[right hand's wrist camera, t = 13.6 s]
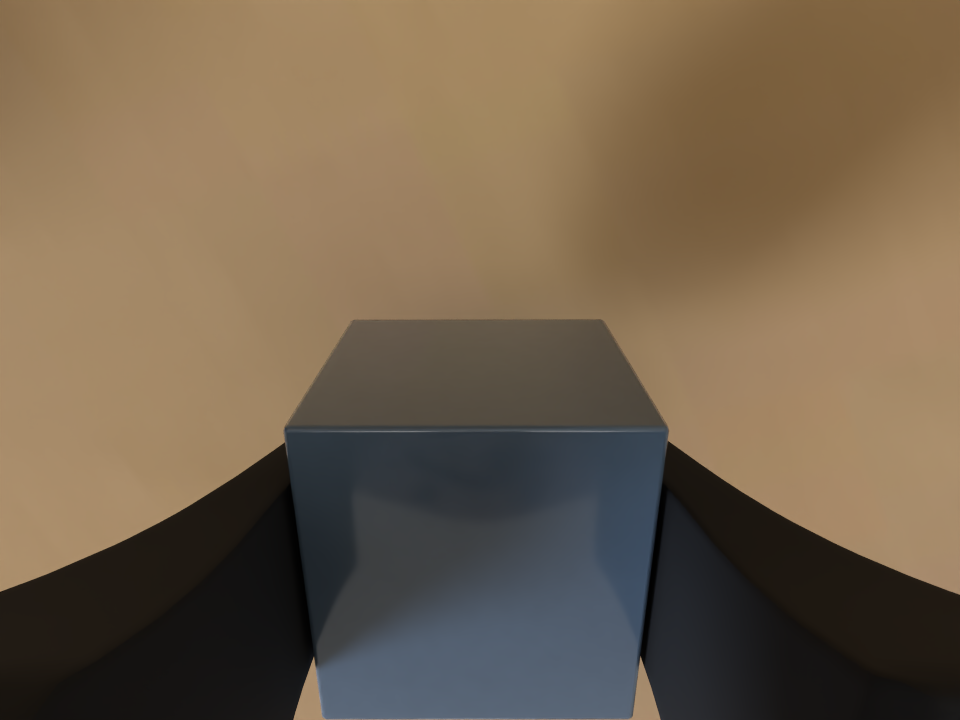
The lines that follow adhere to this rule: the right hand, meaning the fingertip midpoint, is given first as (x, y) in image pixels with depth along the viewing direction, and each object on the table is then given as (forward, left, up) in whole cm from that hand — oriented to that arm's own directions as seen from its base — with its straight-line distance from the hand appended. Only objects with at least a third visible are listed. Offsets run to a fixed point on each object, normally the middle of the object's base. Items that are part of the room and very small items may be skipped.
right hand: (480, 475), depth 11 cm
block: (0, 0, -1) cm, 1 cm away
